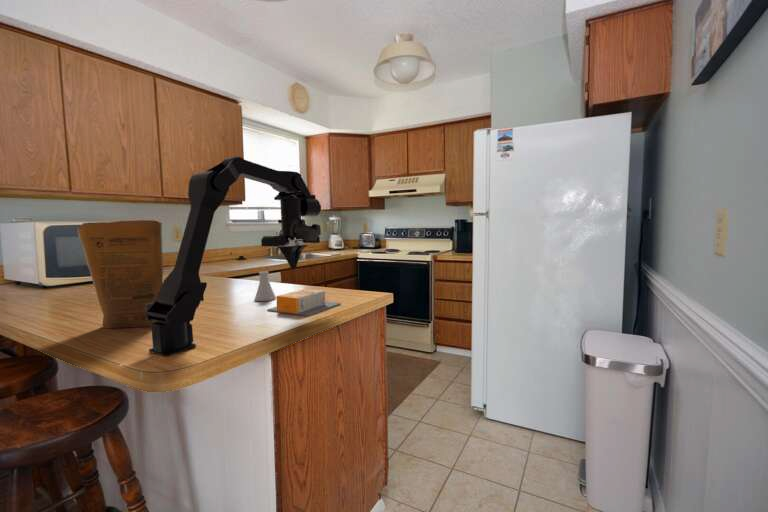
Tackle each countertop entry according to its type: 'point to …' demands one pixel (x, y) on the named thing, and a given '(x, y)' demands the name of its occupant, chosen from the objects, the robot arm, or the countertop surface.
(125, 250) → the pancake mix bag
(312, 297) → the supplement box
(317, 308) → the mat
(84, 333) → the countertop surface
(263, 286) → the flask
